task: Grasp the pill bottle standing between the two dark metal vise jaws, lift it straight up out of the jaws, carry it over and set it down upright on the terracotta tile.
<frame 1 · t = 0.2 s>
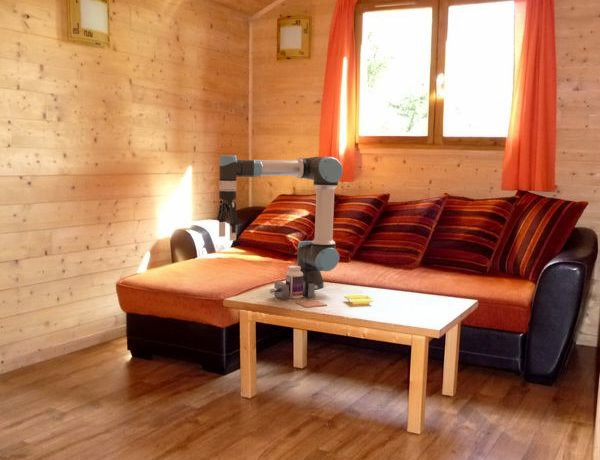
hand: (227, 238, 283), 28 cm above the table, fingers open, 13 cm apart
tile: (311, 304, 281), on the table
pill bottle: (294, 297, 294), on the table
vise: (294, 297, 294), on the table
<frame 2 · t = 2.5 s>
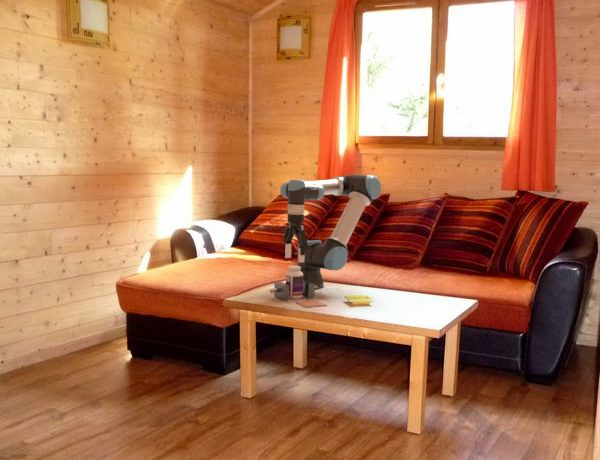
hand: (294, 260, 292), 17 cm above the table, fingers open, 13 cm apart
nothing on the table moved.
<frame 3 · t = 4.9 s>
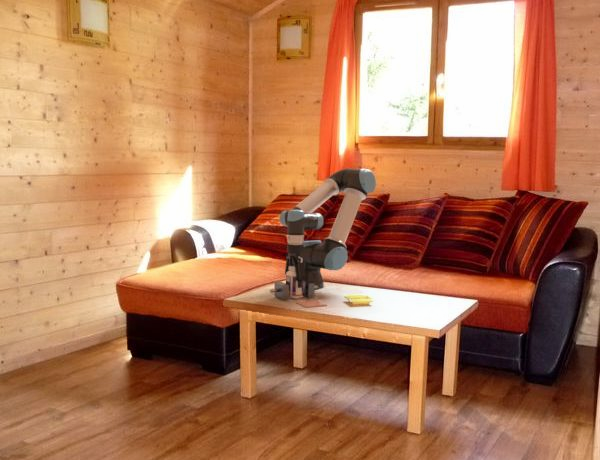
hand: (294, 292, 294), 2 cm above the table, fingers closed on pill bottle, 8 cm apart
pill bottle: (294, 297, 294), on the table, touching gripper
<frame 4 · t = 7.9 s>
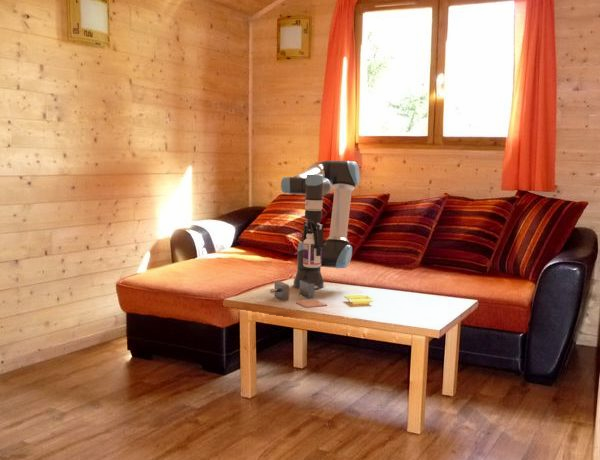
hand: (312, 261, 279), 19 cm above the table, fingers closed on pill bottle, 8 cm apart
pill bottle: (311, 267, 280), point 17 cm above the table, touching gripper
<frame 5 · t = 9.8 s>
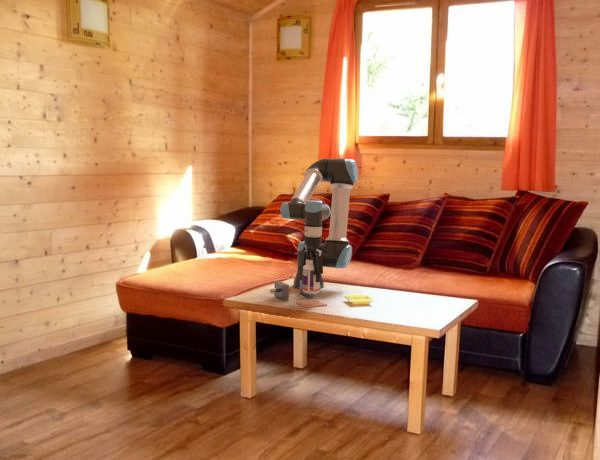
hand: (311, 287, 280), 8 cm above the table, fingers closed on pill bottle, 8 cm apart
pill bottle: (311, 292, 281), point 5 cm above the table, touching gripper
when the fingers open (5 cm above the table, at t = 11.3 s): pill bottle drops 2 cm, resting on tile.
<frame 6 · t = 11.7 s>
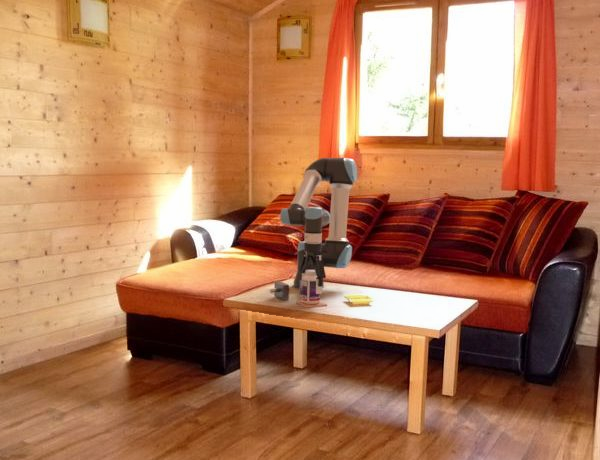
hand: (311, 290, 281), 6 cm above the table, fingers open, 13 cm apart
pill bottle: (310, 303, 282), resting on tile
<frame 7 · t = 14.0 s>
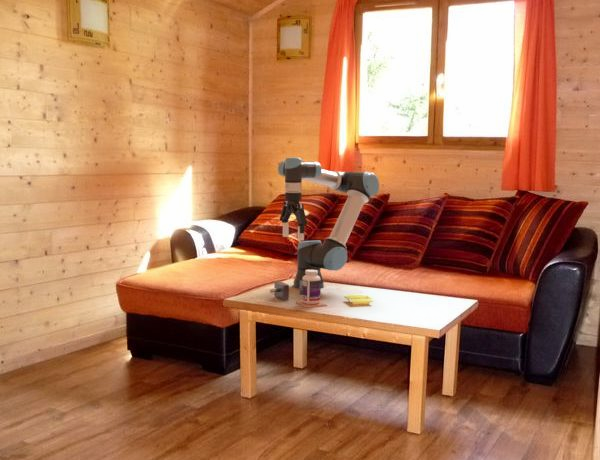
hand: (293, 238, 291), 27 cm above the table, fingers open, 13 cm apart
nothing on the table moved.
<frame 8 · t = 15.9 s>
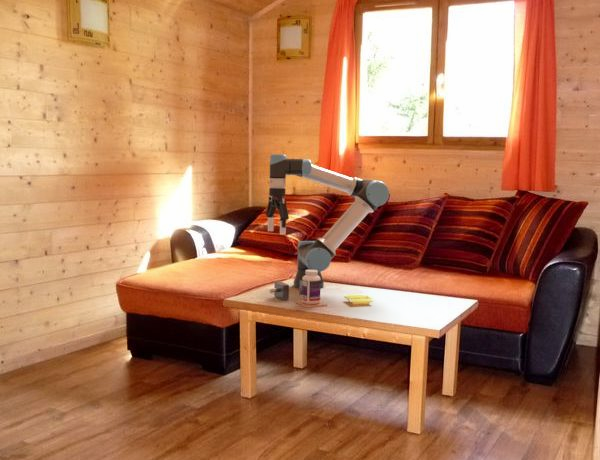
hand: (276, 232, 300), 29 cm above the table, fingers open, 13 cm apart
nothing on the table moved.
at the end: pill bottle inside the target area on the tile (0.4 cm from its centre), point 0.4 cm above the tile's base; pill bottle tilted 0°; the gripper is holding nothing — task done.
